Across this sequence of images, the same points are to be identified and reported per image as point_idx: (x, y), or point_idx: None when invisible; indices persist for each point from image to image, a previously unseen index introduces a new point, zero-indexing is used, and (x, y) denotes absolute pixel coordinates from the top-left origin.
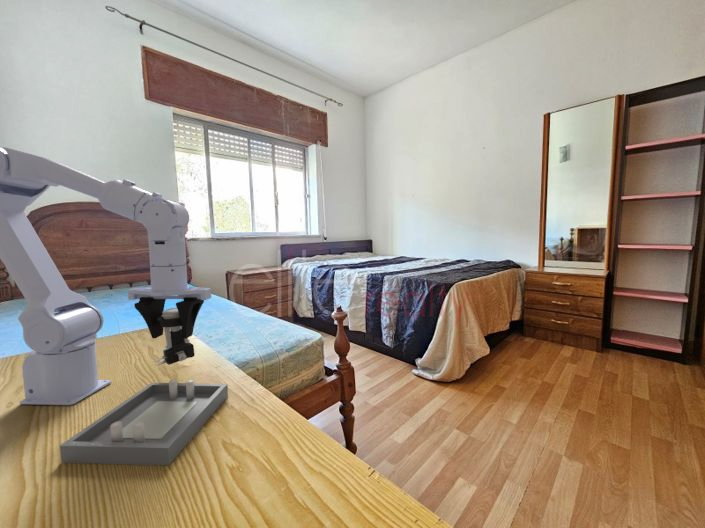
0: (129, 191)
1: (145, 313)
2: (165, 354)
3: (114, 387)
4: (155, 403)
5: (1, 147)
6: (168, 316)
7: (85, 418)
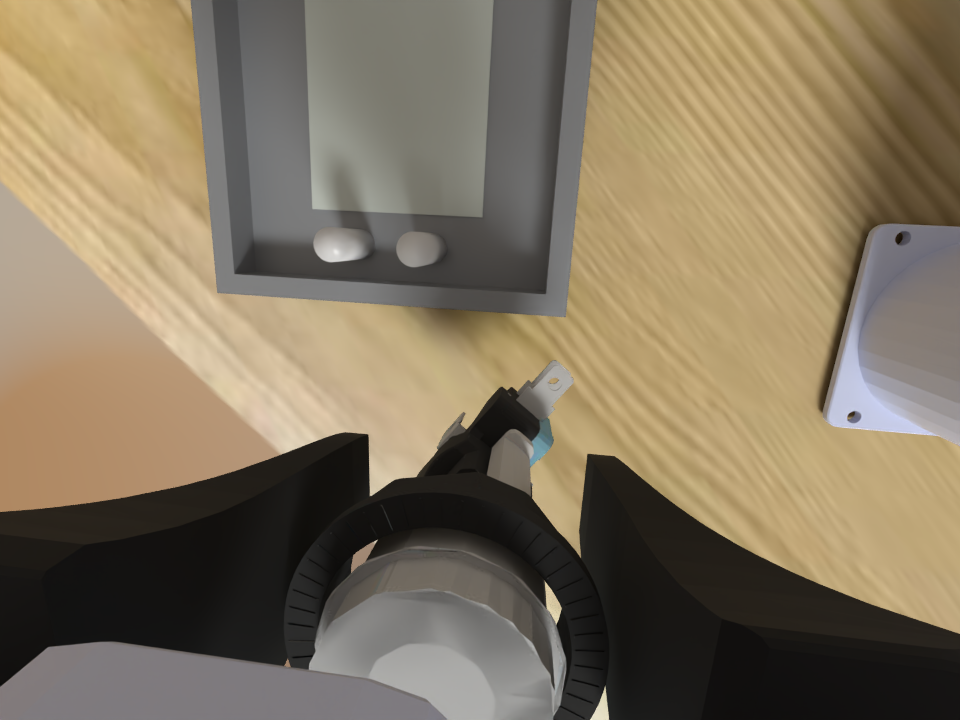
0: None
1: (714, 569)
2: (524, 412)
3: (778, 380)
4: (478, 199)
5: None
6: (432, 562)
7: (732, 131)
